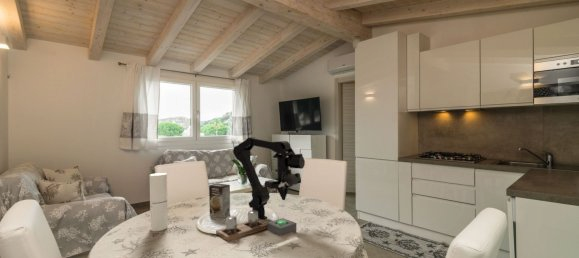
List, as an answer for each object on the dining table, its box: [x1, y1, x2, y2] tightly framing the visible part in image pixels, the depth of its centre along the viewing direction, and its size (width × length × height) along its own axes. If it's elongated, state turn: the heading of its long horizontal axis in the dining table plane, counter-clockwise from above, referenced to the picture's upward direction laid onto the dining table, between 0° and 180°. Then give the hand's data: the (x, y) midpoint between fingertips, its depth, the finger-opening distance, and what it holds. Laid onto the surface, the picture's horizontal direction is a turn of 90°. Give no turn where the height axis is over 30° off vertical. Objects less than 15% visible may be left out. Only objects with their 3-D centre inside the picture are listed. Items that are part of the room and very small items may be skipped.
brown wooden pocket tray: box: [215, 219, 267, 242], centre depth 116 cm, size 10×20×2 cm, turn 132°
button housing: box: [266, 217, 297, 237], centre depth 117 cm, size 9×9×4 cm
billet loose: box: [247, 210, 259, 228], centre depth 120 cm, size 4×4×7 cm
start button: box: [277, 220, 286, 226], centre depth 117 cm, size 4×4×2 cm
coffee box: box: [208, 182, 231, 219], centre depth 141 cm, size 9×6×16 cm
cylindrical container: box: [149, 172, 169, 232], centre depth 123 cm, size 7×7×25 cm
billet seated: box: [225, 215, 238, 235], centre depth 113 cm, size 4×4×7 cm
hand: (283, 199), depth 128 cm, fingers closed
